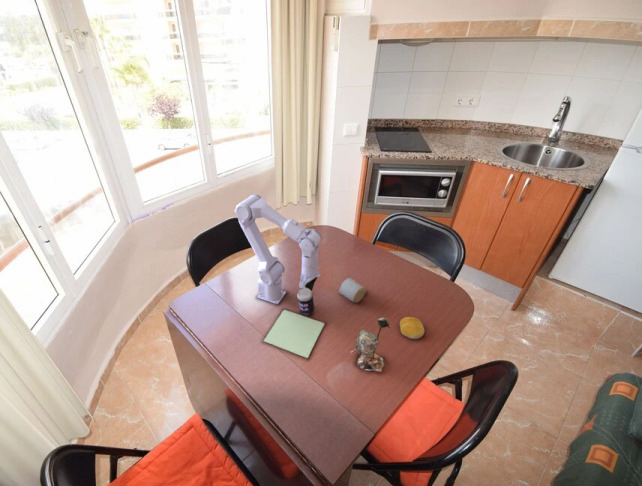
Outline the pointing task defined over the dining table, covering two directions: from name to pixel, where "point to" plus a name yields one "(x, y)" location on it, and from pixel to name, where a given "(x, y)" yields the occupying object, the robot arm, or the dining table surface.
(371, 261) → the dining table surface
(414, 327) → the bread roll
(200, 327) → the dining table surface
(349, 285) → the white cylinder
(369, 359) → the grey figurine
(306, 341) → the mat
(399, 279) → the dining table surface
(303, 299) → the beverage can
